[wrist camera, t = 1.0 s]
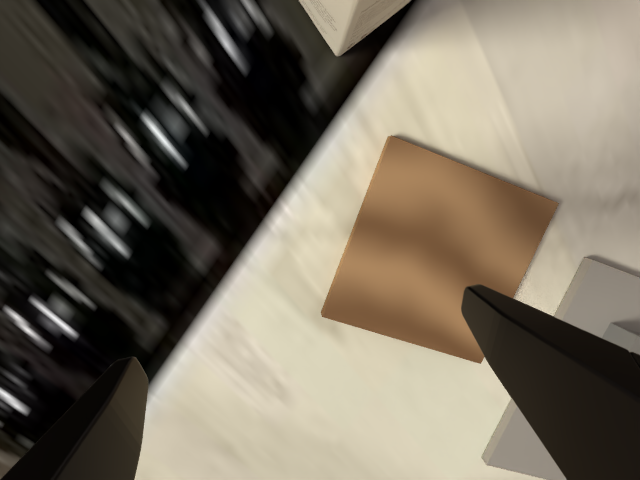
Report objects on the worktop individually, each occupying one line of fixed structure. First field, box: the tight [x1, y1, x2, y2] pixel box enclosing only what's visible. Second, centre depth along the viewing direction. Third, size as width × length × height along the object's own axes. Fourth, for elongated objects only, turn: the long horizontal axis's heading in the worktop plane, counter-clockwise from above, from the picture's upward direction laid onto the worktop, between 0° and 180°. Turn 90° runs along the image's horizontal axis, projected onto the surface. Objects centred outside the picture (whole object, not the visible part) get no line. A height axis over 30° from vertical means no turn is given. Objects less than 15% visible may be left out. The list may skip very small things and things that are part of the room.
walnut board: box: [321, 136, 559, 364], centre depth 25 cm, size 14×14×1 cm
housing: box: [482, 257, 640, 480], centre depth 28 cm, size 20×20×3 cm
